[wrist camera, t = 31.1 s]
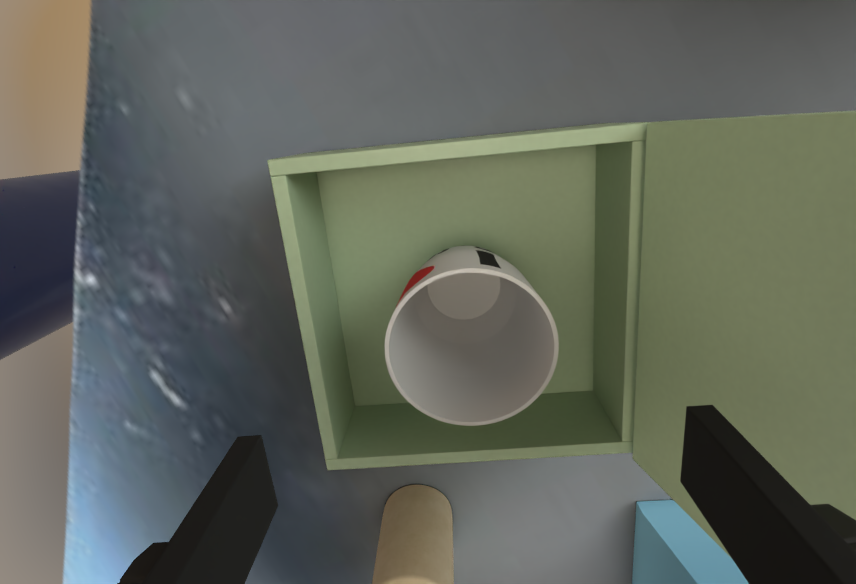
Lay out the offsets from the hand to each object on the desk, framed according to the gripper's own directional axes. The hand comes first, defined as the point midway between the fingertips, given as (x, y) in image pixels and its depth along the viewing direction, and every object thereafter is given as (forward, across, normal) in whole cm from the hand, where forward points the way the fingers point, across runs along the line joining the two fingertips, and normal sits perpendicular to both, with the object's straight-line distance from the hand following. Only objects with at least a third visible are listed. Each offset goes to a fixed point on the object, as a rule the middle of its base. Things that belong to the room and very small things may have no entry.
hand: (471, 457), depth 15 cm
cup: (+18, 0, 0) cm, 18 cm away
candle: (+19, -4, -19) cm, 27 cm away
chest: (+19, 0, 0) cm, 19 cm away
